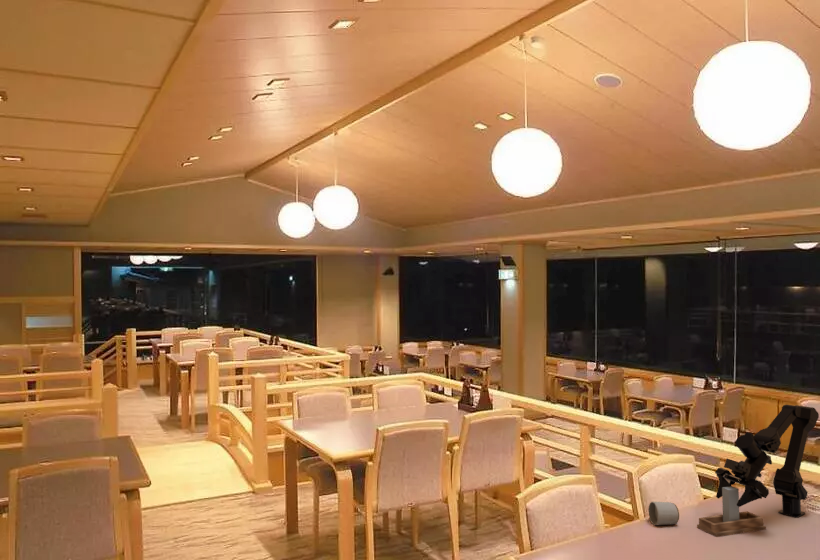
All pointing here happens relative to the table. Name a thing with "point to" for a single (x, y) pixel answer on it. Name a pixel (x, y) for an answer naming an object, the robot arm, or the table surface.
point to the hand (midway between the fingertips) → (727, 501)
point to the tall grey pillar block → (730, 503)
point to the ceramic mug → (663, 513)
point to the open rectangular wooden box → (731, 524)
